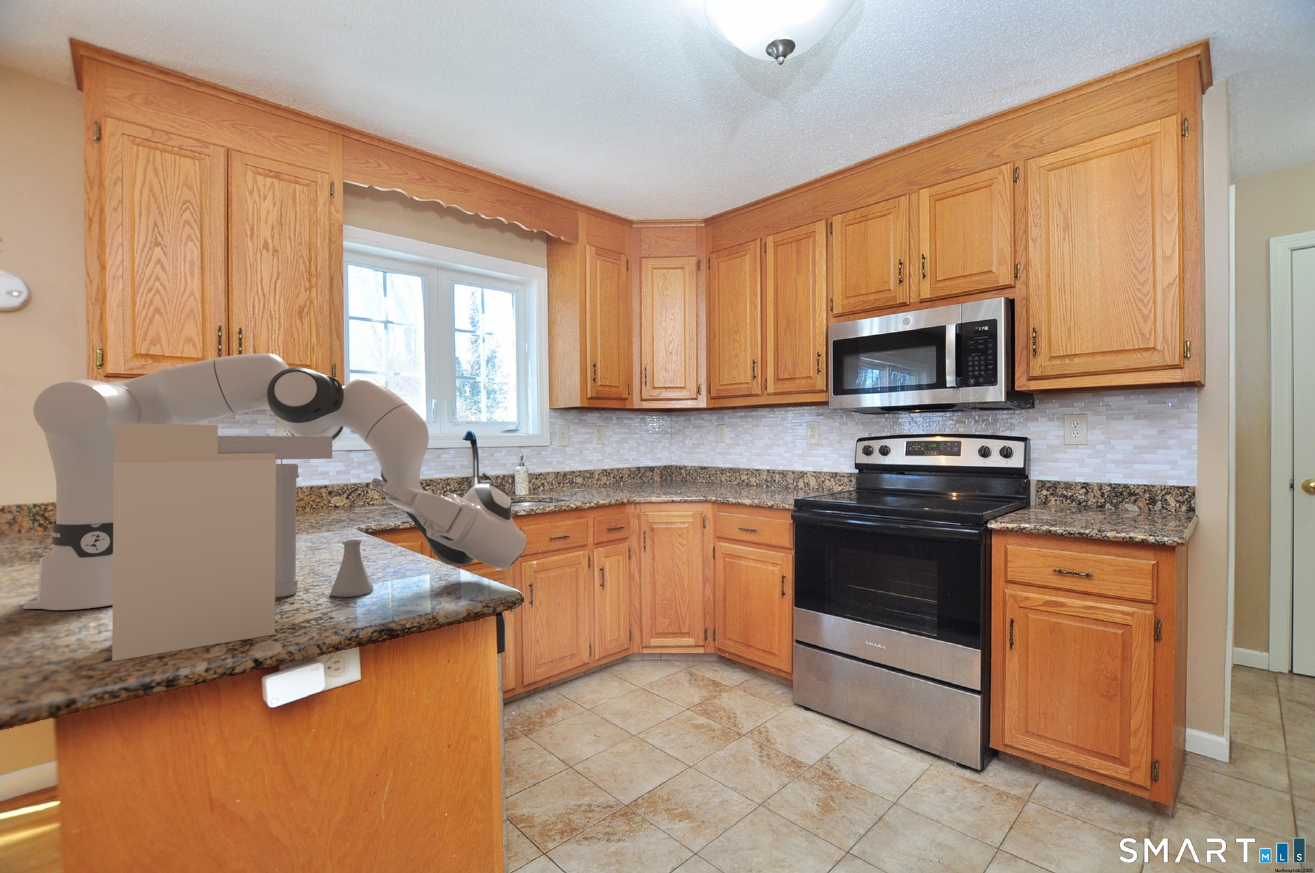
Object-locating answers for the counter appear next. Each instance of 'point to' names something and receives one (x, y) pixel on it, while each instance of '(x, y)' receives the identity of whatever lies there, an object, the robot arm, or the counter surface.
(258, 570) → the stepped beige panel
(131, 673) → the counter surface
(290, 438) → the bar
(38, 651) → the counter surface
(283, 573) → the pipe
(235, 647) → the counter surface
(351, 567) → the flask
